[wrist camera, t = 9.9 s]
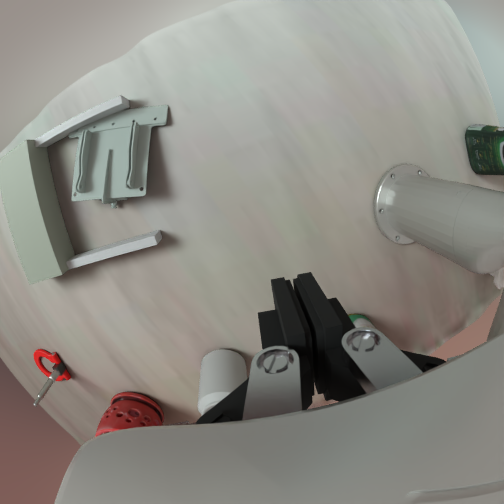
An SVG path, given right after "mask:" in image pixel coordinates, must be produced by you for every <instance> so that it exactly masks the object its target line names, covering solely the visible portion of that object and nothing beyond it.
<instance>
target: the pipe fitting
mask: <svg viewBox="0 0 504 504" xmlns="http://www.w3.org/2000/svg"><path fill="white" fill-rule="evenodd" d="M489 274H490V275H491V276H494V277H495V278H494V281H493V282H494V284H495V285H496V287H497V288H498V289H501V288H502V287H503V288H504V267H503V268H501V269H499V270H497V271H494V272H492V273H489Z"/></svg>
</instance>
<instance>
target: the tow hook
mask: <svg viewBox="0 0 504 504" xmlns="http://www.w3.org/2000/svg"><path fill="white" fill-rule="evenodd" d="M41 356H43V357H45V358H47V359H49V360H50V361H51V362H52V363H55V365H54V366H53V367H52V368H53V370H54V371H53V372H52V373H51V372H49V371H48V370H47V369H46V368H45V367H44V366H43V365H42V363H41V361H40V357H41ZM34 360H35V362H36V364H37V366H38V367H39V369H40V370H41V371H42V372H43V373H44V374H45V375H46V376H48V377H49V379H48V380H47V382H46V383H45V385H44V386H43V388H42V389H41V391H40V392H39V394H38V395H37V399H36V400H35V402H34V405H35V406H37V405H38V403H39V402H40V400H42V399H43V398H44V396H45V394H46V393H47V391H48V390H49V388H50V387H51V385H52V384H53V382H55V381H61V380H62V379H63V378H65V379H66V380H69V379H70V378H71V376H70V375H69V373H68V372H67V370H66V368H65V366H64V364H63V363H62V361H61V360H60V359H59V357H58V355H57V354H56V352H53V353H52V354H50V353H49V352H47V351H45V350H42V349H38V350H36V351H35V352H34Z"/></svg>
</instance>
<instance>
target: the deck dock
mask: <svg viewBox="0 0 504 504" xmlns="http://www.w3.org/2000/svg"><path fill="white" fill-rule="evenodd" d="M127 108H130V105H129V100H128V99H126V98H125V97H123V96H121V95H120V96H118V97H115V98H113V99H111V100H108V101H106V102H104V103H102V104H99V105H97V106H95V107H93V108H91V109H89V110H87V111H85V112H83V113H81V114H79V115H77V116H75V117H73V118H71V119H69V120H67V121H66V122H64V123H62V124H60V125H58V126H57V127H55V128H53V129H51V130H50V131H48V132H46V133H45V134H43V135H42V136H40V137H38V138H37V139H35V140H25V141H24V142H23V143H21V144H20V145H18V146H17V147H16V148H14V149H13V150H11V151H10V152H9V153H7V154H6V155H5V156H4V157H2V158H1V159H0V190H1V195H2V200H3V204H4V209H5V213H6V216H7V220H8V224H9V227H10V231H11V234H12V238H13V241H14V244H15V247H16V250H17V253H18V256H19V258H20V261H21V264H22V267H23V269H24V272H25V274H26V277H27V279H28V282H29V284H34V283H37V282H40V281H43V280H47V279H50V278H53V277H57V276H60V275H63V274H64V273H65V272H66V271H68V270H69V269H72V268H76V267H79V266H82V265H86V264H89V263H93V262H96V261H100V260H103V259H107V258H110V257H114V256H117V255H121V254H124V253H128V252H132V251H135V250H139V249H143V248H146V247H150V246H154V245H157V244H158V243H159V242H160V240H161V239H162V236H161V232H160V230H158V231H154V232H151V233H147V234H143V235H140V236H137V237H133V238H130V239H126V240H123V241H119V242H116V243H113V244H109V245H106V246H103V247H100V248H96V249H93V250H90V251H87V252H84V253H81V254H77V255H75V253H74V250H73V247H72V244H71V242H70V239H69V236H68V232H67V229H66V226H65V223H64V220H63V216H62V213H61V209H60V206H59V202H58V198H57V194H56V190H55V186H54V181H53V177H52V172H51V167H50V162H49V157H48V151H47V147H48V146H50V145H52V144H53V143H55V142H57V141H59V140H61V139H62V138H64V137H66V136H68V135H69V133H71V132H73V131H75V130H77V129H79V128H81V127H83V126H85V125H87V124H90V123H92V122H94V121H97V120H99V119H101V118H104V117H106V116H108V115H111V114H114V113H116V112H119V111H121V110H125V109H127ZM77 131H78V130H77Z"/></svg>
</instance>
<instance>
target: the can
mask: <svg viewBox="0 0 504 504" xmlns="http://www.w3.org/2000/svg"><path fill="white" fill-rule="evenodd" d="M246 380H247V371H246V363H245V360H244V359H243V357H242V356H241V355H239V354H238V353H236V352H234V351H231V350H225V349H222V350H215V351H212V352H210V353H208V354H207V355H206V356H204V358H203V360H202V363H201V373H200V385H199V397H198V410H199V412H200V413H201V414H202V415H203V414H205V413H206V412H207V411H209V410H210V409H211V408H212V407H214V406H215V405H216V404H217V403H219V402H220V401H221V400H223V399H224V398H225V397H226V396H227V395H229V394H230V393H231V392H232V391H234V390H235V389H236V388H237V387H238V386H240V385H241V384H242V383H243V382H244V381H246Z"/></svg>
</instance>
